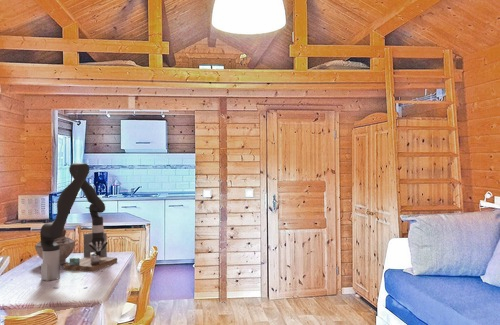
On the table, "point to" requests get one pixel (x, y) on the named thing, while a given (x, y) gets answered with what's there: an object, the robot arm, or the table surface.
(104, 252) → the hip flask
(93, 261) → the bar
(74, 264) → the lock board
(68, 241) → the ceramic pot
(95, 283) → the table surface
